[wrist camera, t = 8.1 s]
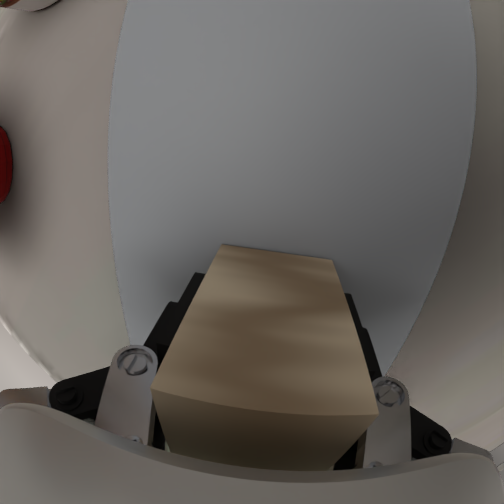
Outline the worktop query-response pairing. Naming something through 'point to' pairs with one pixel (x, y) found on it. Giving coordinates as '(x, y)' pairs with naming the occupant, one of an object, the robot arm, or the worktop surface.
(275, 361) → the block
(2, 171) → the plastic cup
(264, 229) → the board
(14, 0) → the milk bottle
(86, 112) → the worktop surface
